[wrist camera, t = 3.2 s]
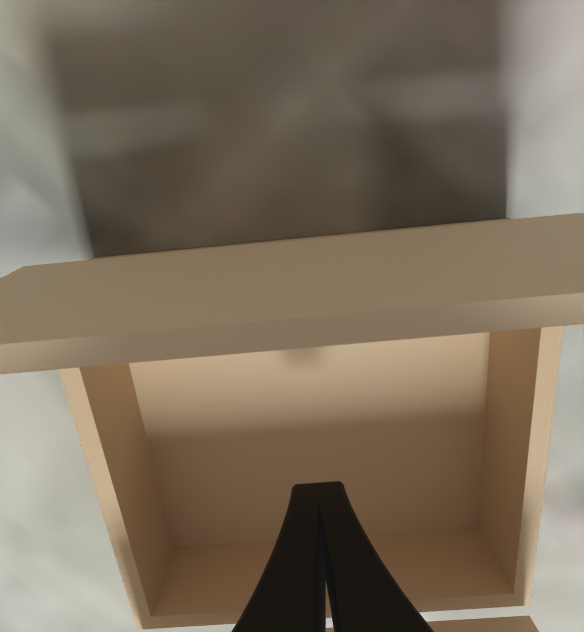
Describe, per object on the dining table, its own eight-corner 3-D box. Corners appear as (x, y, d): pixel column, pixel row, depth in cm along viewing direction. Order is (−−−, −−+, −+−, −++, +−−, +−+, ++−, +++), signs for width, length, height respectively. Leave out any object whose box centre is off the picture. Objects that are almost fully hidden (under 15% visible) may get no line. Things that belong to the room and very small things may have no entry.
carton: (506, 218, 14) (575, 231, 10) (485, 525, 18) (530, 605, 14) (94, 258, 14) (31, 282, 11) (166, 547, 18) (138, 629, 15)
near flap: (576, 233, 10) (581, 212, 10) (777, 306, 6) (791, 274, 6) (31, 284, 10) (24, 266, 10) (-137, 385, 6) (-155, 358, 6)
